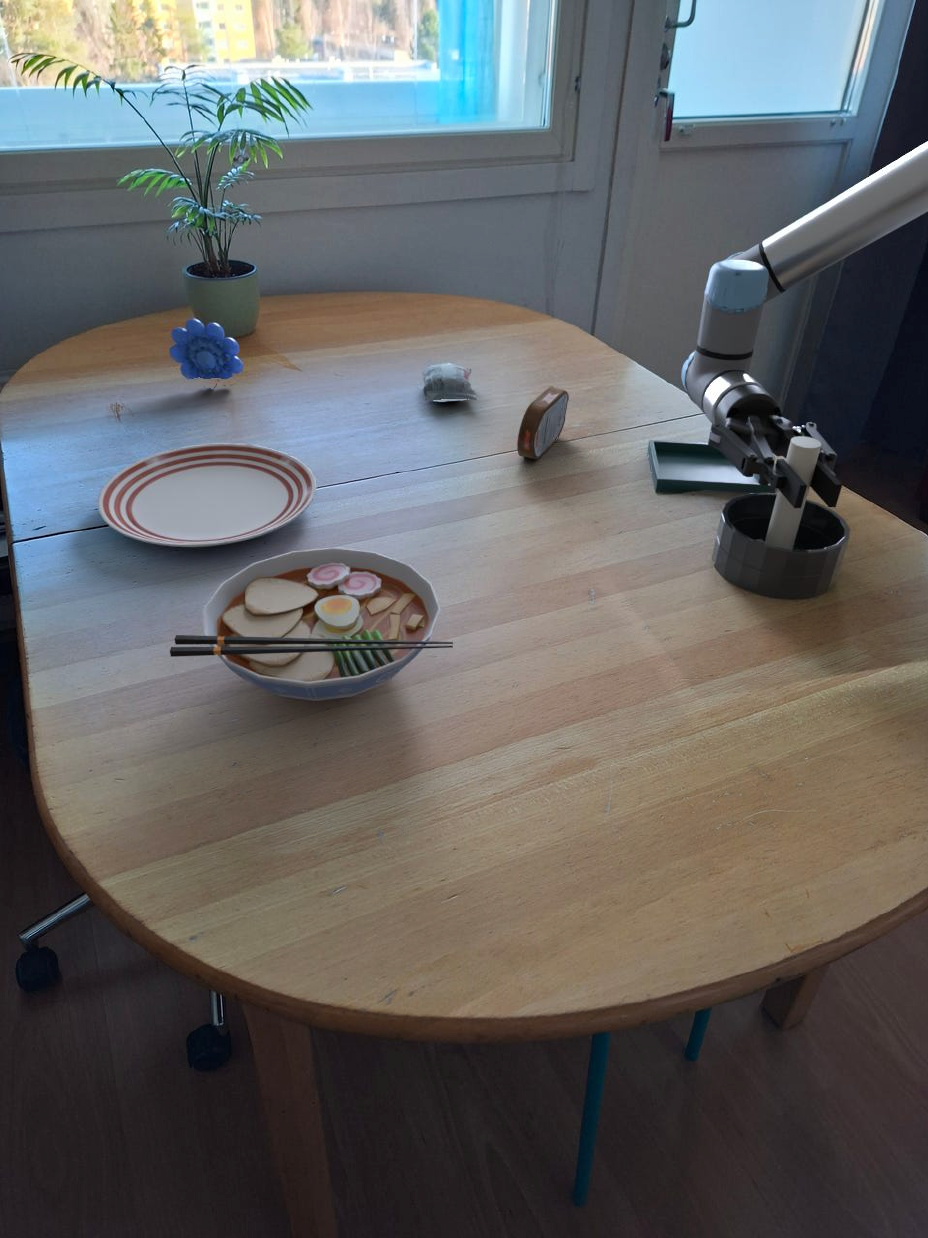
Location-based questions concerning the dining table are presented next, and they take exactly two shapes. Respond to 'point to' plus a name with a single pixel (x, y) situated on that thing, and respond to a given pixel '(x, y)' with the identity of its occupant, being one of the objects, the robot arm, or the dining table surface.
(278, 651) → the ramen bowl
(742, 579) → the bowl
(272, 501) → the dinner plate
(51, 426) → the dining table surface
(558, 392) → the tin
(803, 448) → the blade
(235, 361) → the blue flower rosette
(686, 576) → the dining table surface
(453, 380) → the packaged food
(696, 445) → the tray
